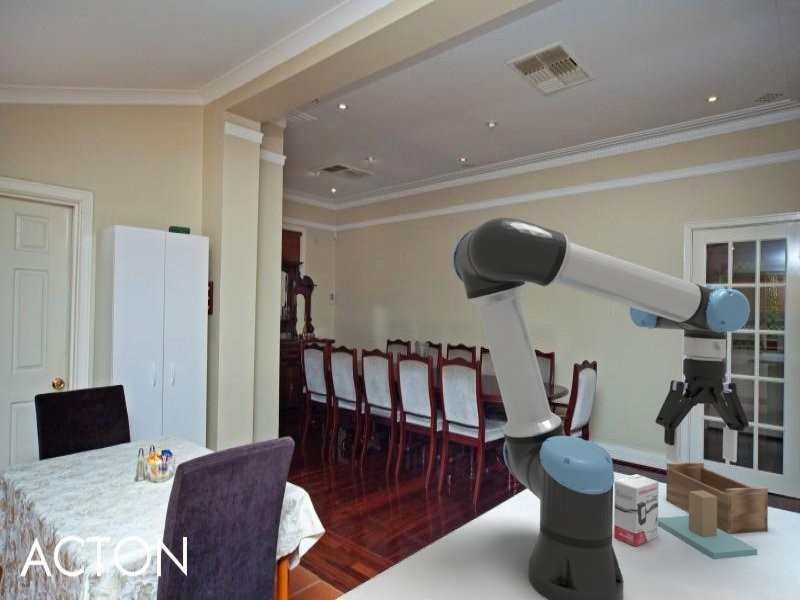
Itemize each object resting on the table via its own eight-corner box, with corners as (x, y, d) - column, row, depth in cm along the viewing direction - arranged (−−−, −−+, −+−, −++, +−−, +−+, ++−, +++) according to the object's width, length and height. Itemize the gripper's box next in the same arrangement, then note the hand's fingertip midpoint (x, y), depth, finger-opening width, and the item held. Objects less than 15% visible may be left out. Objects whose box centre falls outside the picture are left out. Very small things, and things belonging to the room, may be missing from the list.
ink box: (636, 547, 94) (636, 487, 94) (612, 537, 98) (613, 480, 99) (659, 537, 99) (659, 480, 99) (635, 528, 103) (636, 473, 103)
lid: (713, 561, 90) (714, 510, 91) (654, 525, 105) (655, 482, 106) (757, 556, 92) (757, 507, 93) (693, 522, 108) (693, 479, 108)
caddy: (727, 533, 101) (727, 490, 101) (666, 500, 119) (666, 463, 119) (767, 531, 103) (767, 488, 103) (701, 498, 121) (701, 462, 121)
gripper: (664, 358, 94) (661, 466, 94) (771, 362, 98) (768, 465, 98) (639, 355, 102) (635, 455, 101) (739, 358, 106) (737, 454, 105)
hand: (701, 460), depth 99 cm, fingers open, 13 cm apart
